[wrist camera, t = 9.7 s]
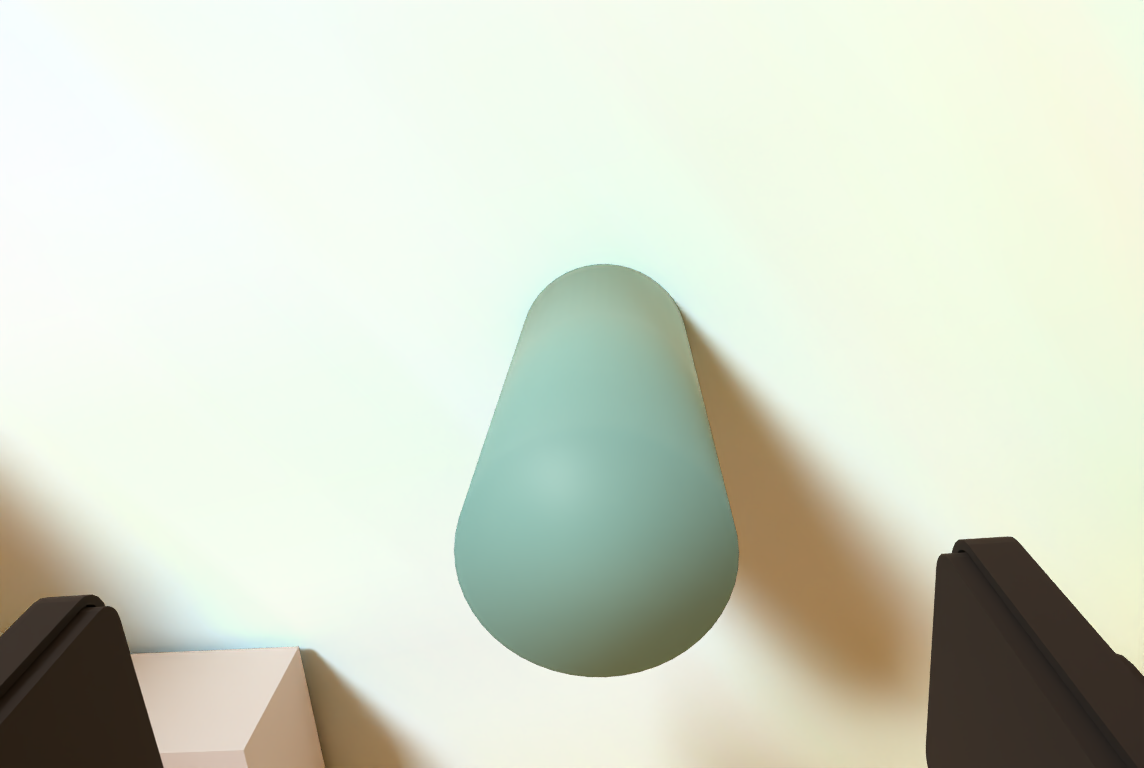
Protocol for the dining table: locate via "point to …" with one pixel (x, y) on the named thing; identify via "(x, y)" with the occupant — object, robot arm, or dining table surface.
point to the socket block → (230, 708)
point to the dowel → (598, 487)
